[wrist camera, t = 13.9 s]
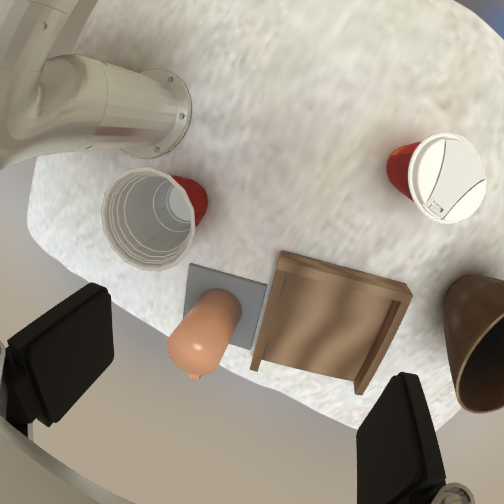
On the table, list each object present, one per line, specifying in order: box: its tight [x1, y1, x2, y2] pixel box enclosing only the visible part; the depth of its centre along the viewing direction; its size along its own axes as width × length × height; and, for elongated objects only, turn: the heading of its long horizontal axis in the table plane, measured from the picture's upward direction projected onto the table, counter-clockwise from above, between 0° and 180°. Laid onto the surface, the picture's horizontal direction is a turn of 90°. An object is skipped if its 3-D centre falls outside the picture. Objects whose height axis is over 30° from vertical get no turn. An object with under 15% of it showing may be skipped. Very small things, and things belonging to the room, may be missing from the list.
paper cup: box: [387, 133, 486, 224], centre depth 26 cm, size 8×8×14 cm
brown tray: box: [250, 251, 413, 395], centre depth 40 cm, size 17×17×4 cm
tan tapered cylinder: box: [167, 288, 242, 380], centre depth 39 cm, size 9×6×11 cm
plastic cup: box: [101, 167, 207, 271], centre depth 34 cm, size 11×11×12 cm
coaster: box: [183, 263, 267, 350], centre depth 44 cm, size 11×11×1 cm
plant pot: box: [444, 276, 504, 413], centre depth 28 cm, size 15×15×16 cm
